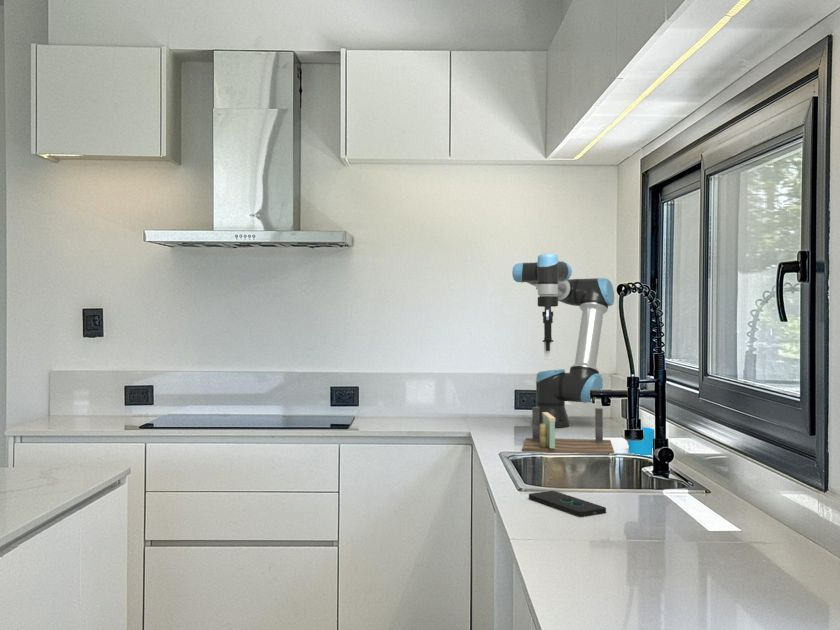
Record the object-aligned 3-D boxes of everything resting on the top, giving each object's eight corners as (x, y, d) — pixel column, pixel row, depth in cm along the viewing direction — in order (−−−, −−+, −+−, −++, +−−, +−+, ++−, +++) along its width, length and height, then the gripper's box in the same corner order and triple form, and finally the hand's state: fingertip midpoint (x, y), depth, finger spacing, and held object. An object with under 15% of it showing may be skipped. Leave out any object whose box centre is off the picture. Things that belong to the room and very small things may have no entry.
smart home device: (579, 511, 169) (527, 493, 187) (579, 519, 169) (527, 500, 187) (607, 507, 173) (553, 489, 191) (607, 514, 173) (553, 496, 191)
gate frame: (525, 440, 275) (525, 404, 275) (610, 442, 269) (610, 406, 269) (522, 451, 252) (521, 412, 252) (614, 454, 246) (613, 414, 247)
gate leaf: (547, 439, 267) (546, 411, 267) (555, 448, 249) (555, 418, 249) (541, 439, 267) (541, 411, 267) (549, 448, 249) (549, 418, 249)
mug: (659, 455, 245) (659, 430, 245) (638, 456, 242) (638, 431, 242) (637, 449, 256) (637, 425, 256) (617, 450, 254) (617, 426, 254)
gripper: (538, 296, 285) (538, 358, 285) (536, 295, 272) (537, 360, 272) (558, 296, 284) (558, 358, 284) (557, 295, 271) (558, 360, 271)
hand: (548, 359), depth 278 cm, fingers closed
